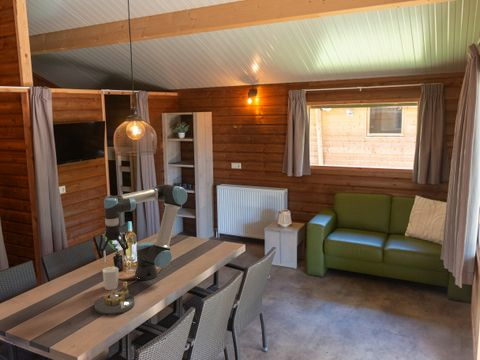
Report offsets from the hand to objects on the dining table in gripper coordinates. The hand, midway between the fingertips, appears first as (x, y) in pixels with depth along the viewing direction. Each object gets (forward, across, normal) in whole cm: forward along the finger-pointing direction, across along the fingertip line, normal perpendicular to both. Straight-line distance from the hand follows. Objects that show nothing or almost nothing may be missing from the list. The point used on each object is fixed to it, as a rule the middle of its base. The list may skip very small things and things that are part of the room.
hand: (114, 261), depth 242 cm
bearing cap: (+24, 0, -10) cm, 26 cm away
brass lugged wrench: (+20, +1, -8) cm, 22 cm away
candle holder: (+24, -4, +17) cm, 30 cm away
